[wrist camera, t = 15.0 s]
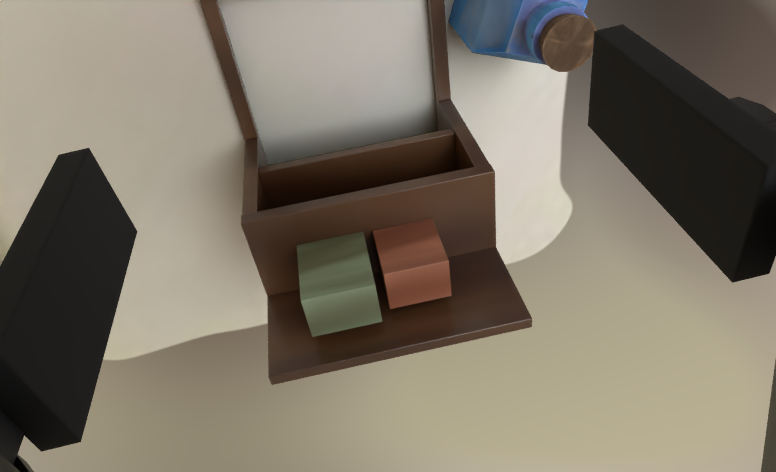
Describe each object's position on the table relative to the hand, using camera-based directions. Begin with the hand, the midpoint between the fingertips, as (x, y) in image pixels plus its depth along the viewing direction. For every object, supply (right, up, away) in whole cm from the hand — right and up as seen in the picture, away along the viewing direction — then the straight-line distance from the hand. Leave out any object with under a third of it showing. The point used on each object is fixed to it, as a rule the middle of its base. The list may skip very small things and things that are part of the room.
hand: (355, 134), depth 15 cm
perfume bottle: (+9, +15, +26) cm, 32 cm away
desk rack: (-3, +9, +29) cm, 30 cm away
